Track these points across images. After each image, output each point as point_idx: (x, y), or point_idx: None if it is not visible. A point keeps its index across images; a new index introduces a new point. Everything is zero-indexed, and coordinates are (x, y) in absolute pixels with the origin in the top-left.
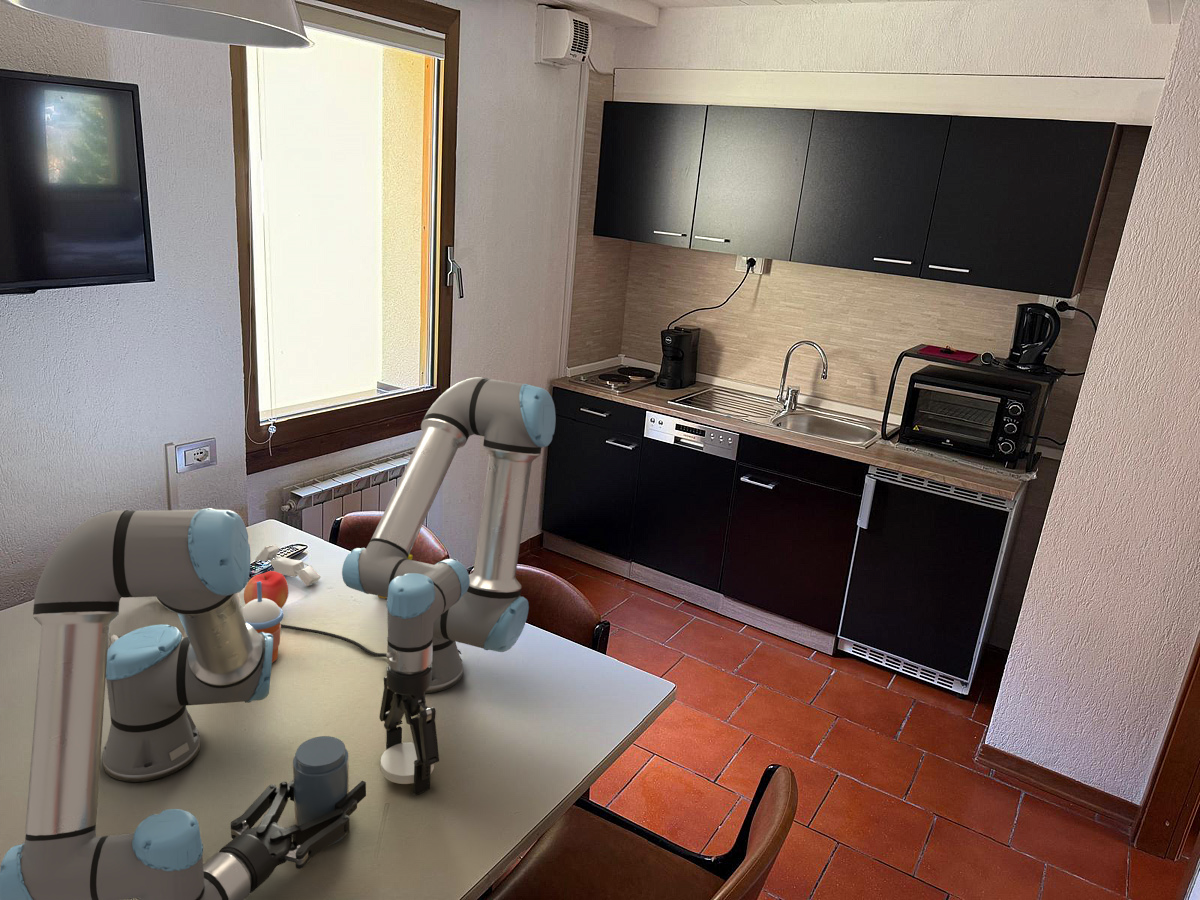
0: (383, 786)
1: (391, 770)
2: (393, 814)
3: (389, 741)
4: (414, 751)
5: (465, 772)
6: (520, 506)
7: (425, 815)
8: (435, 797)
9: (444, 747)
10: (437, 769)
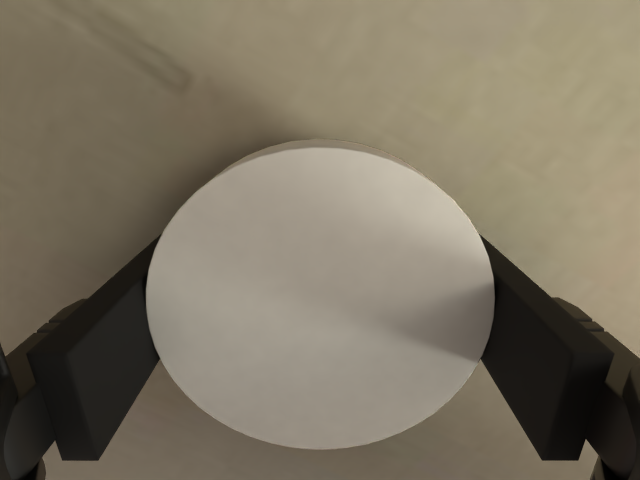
0: (321, 131)
1: (264, 182)
2: (83, 66)
3: (523, 311)
4: (355, 380)
5: (207, 447)
6: None
7: (13, 200)
8: None
9: (391, 458)
10: None
